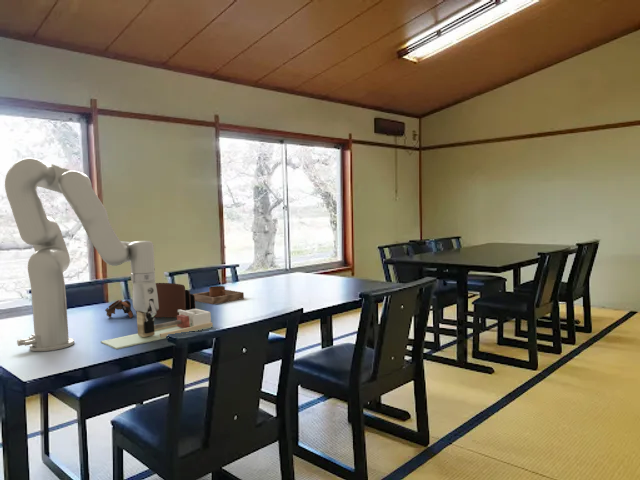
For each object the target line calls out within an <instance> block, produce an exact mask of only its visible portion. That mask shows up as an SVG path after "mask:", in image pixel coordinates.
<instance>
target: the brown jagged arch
mask: <svg viewBox="0 0 640 480" xmlns="http://www.w3.org/2000/svg"><path fill="white" fill-rule="evenodd" d="M116 310H117V311H118V310H120V311H121V310H123V314H127V315H128V317H129V318H130V319H131V318H132V317H134V313H133V310H132V304H131V302H130V301H129V300H124V301H123V300H122V299H117V300H116V301H114V302H112V303H111V304H110V305H109V306H108V307H107V308H106V309H105V313H106V317H108V318H110V319H111V317H112V315H113V314H114V315H116Z"/></svg>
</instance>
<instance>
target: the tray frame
mask: <svg viewBox="0 0 640 480" xmlns="http://www.w3.org/2000/svg"><path fill="white" fill-rule="evenodd" d="M225 294H229V295H224V296H219V297H209V296H207V295H210V294H209V291H205V292H204V291H203V292H198V293H193V295H194V296H195V302H199V303H204V304H210V305H218V304H223V303H228V302H234V301H240V300H244V299H245V297H244V292H242V291H235V290H230V289H225Z"/></svg>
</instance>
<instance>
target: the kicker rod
mask: <svg viewBox="0 0 640 480" xmlns="http://www.w3.org/2000/svg"><path fill="white" fill-rule="evenodd" d="M149 311H150V310H148V311H147V312H149ZM149 314H150V313H148V314H147V316H148V315H149ZM144 322H145V317H144V312H140V311H139V312H137V314H136V324H137V326H136V327H137V333H138V335H139V336H141V337H146V336H151V335H155V331H154V332H151V333H147V334H146V333H145V332H144ZM172 325H177V326H178V327H181V328H188V327H190V324H189V316H186V315H177V318H176V320H173V321H168V322H163V323H158V324H157V323H156V324H154V329H158V328H162V327H167V326H172Z"/></svg>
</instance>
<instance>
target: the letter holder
mask: <svg viewBox="0 0 640 480" xmlns="http://www.w3.org/2000/svg"><path fill="white" fill-rule="evenodd" d="M155 283H156V288H157V294H158V304H159V309H158V311H156V315H155V317H154V318H162V317H165V318H166V317H167V318H174V319H175V318H176V319H177V315H179V312H178V310H184V311H186V310H191V309H196V301H195V296H194V295H193V294H194V293H193V294H192V293H191V291H190V290H188V289H186V287H185V285H184V284H181V283H172V282H171V283H170V282H155Z"/></svg>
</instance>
